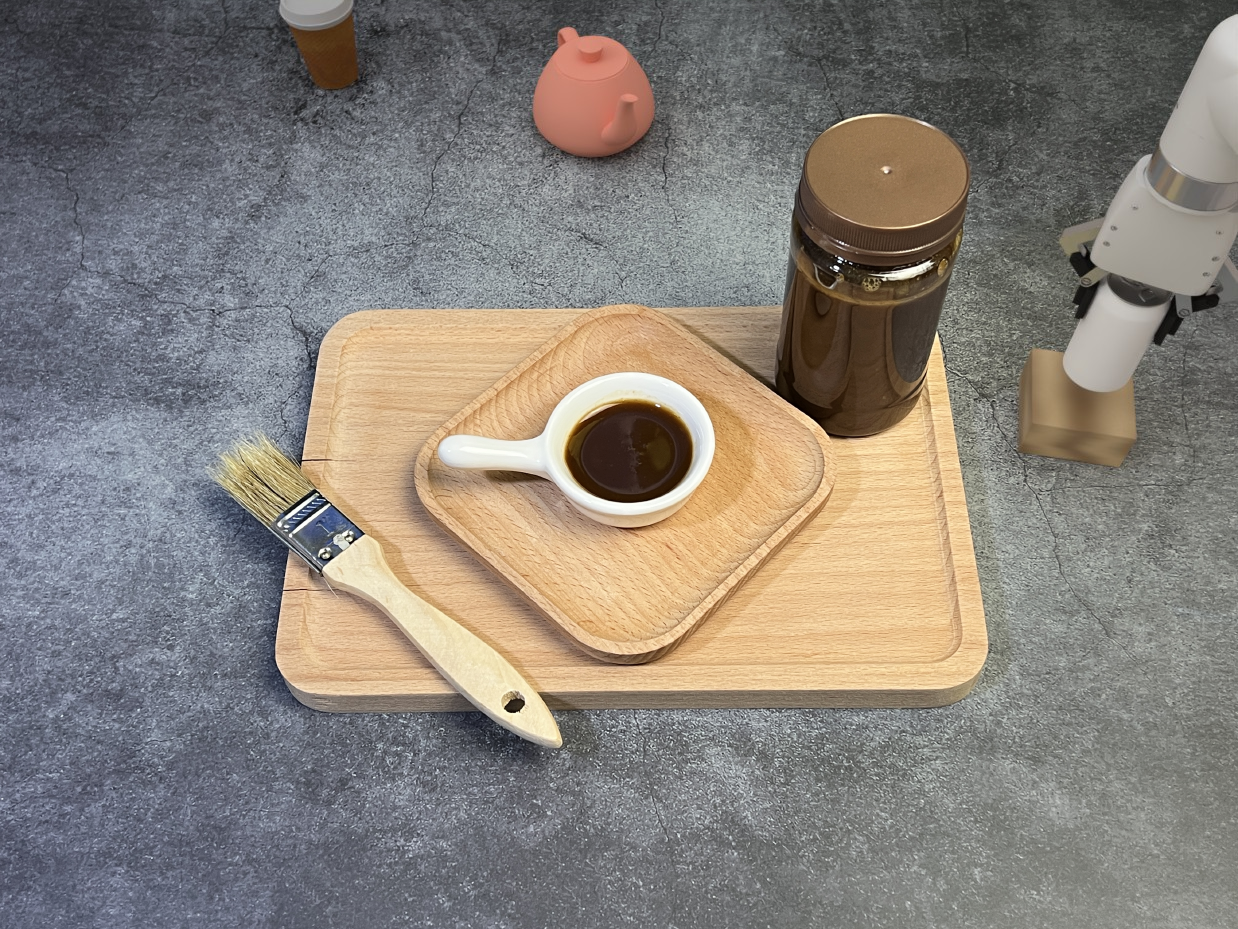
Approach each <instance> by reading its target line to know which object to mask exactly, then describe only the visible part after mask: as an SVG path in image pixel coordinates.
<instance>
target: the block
mask: <svg viewBox="0 0 1238 929" xmlns="http://www.w3.org/2000/svg"><path fill="white" fill-rule="evenodd" d="M1064 354H1065V352H1063V351H1058V350H1050V349H1043V348H1034V347H1032V348H1031V350H1030V352H1029V354H1028V357H1027V359H1026V361H1025V363H1024V366H1023V368H1022V370H1021V373H1020V375H1019V377H1018V433H1017V434H1018V435H1017V436H1018V439H1017V446H1018V448H1017V450H1018V451H1017V452H1018V453H1022V454H1029V455H1034V456H1035V455H1036V456H1041V457H1049V458H1055V459H1062V460H1067V461H1073V462H1080V463H1087V464H1094V465H1100V466H1106V467H1113V468H1120V467H1121V465H1122V463H1123V462H1124V461H1125V459H1126V457H1127V456H1128V454H1129V452H1130V451H1131V449H1132V448H1133V446H1134V445H1135V443H1136V441H1137V440H1138V434H1137V420H1136V404H1135V388H1134V386H1135V385H1134V373H1133V374H1132V376H1131V378H1130V379H1129V381H1128V382H1127V384H1126V385H1125V386H1123V387H1122V388H1120V389H1118V390H1116V391H1112V392H1104V393H1100V392H1093V391H1089V390H1086V389H1084V388H1082V387H1080V386H1078V385H1077V384H1075V383H1074V382H1073V381H1072V380H1071V379H1070V378H1069V376H1068V375H1067V373H1066V372H1065V370H1064V367H1063V357H1064Z"/></svg>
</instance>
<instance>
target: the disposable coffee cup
mask: <svg viewBox="0 0 1238 929" xmlns="http://www.w3.org/2000/svg"><path fill="white" fill-rule="evenodd" d="M354 2H355V0H280V3H279V7H278V9H279V10H278V11H279V14H280V16H281V18H282V19H283V20H284V21H285V23H287V25H288V27H289V30H290V32H291V34H292V36H293V39H294V41H295V43H296V45H297V48H298V50H299V52H300V54H301V56H302V59H303V61H304V63H305V65H306V68H307V70H308V72H309V74H310V76H311V79H312V81H313V83H314V84H315V85H316V86H317V87H319V88H321V89H323V90H324V89H325V90H339V89H340V90H341V89H343V88H346V87H348V86H350V85H351V84H353V83H354V82H355V81H356V80H357V79H358V77H359V74H360V73H359V72H360V71H359V62H358V55H357V45H356V36H355V34H356V33H355V27H354V18H353V6H354Z"/></svg>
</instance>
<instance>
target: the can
mask: <svg viewBox="0 0 1238 929" xmlns="http://www.w3.org/2000/svg"><path fill="white" fill-rule="evenodd" d="M1172 296H1173V292H1171V291H1168V290H1165V289H1161V288H1158V287H1155V286H1151V285H1148V284H1145V283H1142V282H1139V281H1135V280H1132V279H1129V278H1126V277H1123V276H1120V275H1117V274H1114V273H1111V272H1110V273H1109V274H1108V275H1106V276H1105V277H1103V278H1102V279H1100V281H1099V284H1098V287H1097V289H1096V292H1095V294H1094V296H1093V298H1092V300H1091V302H1090V305H1089V307H1088V309H1087V311H1086V313H1085V315H1084V317H1083V319H1081V318H1080V320H1079V322H1078V324H1077V326H1076V328H1075V330H1074V332H1073V334H1072V337H1071V339H1070V340H1069V343H1068V345H1067V347H1066V348H1065V354H1064V357H1063V367H1064V370H1065V372H1066V373H1067V375H1068V376H1069V378H1070V379H1071V380H1072V381H1073V382H1074V383H1075V384H1077V385H1078V386H1080V387H1082V388H1084V389H1086V390H1089V391H1093V392H1100V393H1104V392H1112V391H1116V390H1118V389H1120V388H1122V387H1123V386H1125V385H1126V384H1127V382H1128V381H1129V379H1130V378H1131V376H1132V374H1133V375H1134V373H1135V371H1136V369H1137V368H1138V366H1139V363H1141V361H1142V359H1143V357H1144V355H1145V353H1146V352H1147V350H1148V348H1149V347H1150V345H1151V343H1152V342H1153V339H1154V336H1155V334H1156V332H1157V331H1158V329H1159V327H1160V325H1161V323H1162V322H1163V320H1164V318H1165V316H1166V314H1167V312H1168V310H1169V308H1170V303H1171V300H1172V298H1171V297H1172Z"/></svg>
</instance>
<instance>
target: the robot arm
mask: <svg viewBox="0 0 1238 929" xmlns="http://www.w3.org/2000/svg"><path fill="white" fill-rule="evenodd" d="M1237 235H1238V13H1236V14H1233V15H1232V16H1228V17H1227V18H1226V19H1224V20H1222V21H1221V22H1220V23H1218V24H1217V25H1216V27H1214V29H1213V30H1212V31H1211V32H1210V34H1209V36H1208V37H1207V39H1206V41H1205V43H1204V45H1203V46H1202V49H1201V51H1200V52H1199V55H1198V57H1197V60H1196V61H1195V64H1194V66H1193V68H1192V69H1191V72H1190V75H1189V77H1188V79H1187V81H1186V83H1185V85H1184V87H1183V89H1182V91H1181V93H1180V95H1179V97H1178V100H1177V101H1176V104H1175V106H1174V108H1173V109H1172V113H1171V114H1170V117H1169V118H1168V120H1167V123H1166V126H1165V128H1164V130H1163V131H1162V134H1161V135H1160V138H1159V139H1158V142H1157V144H1156V145H1155V147H1154V150H1153V152H1152V153H1149V154H1146V155H1144V156H1142V157H1141V158H1140V159H1139V160H1138V161H1137V162H1136V163H1135V165H1134V166H1133V168H1132V169H1131V170H1130V172H1129V173H1128V174H1127V176H1126V177H1125V179H1124V180H1123V182H1122V183H1121V185H1120V187H1119V188H1118V190H1117V192H1116V194H1115V195H1114V197H1113V199H1112V201H1111V203H1110V204H1109V207H1108V209H1107V211H1106V213H1105V214H1104V216H1103V217H1100V218H1097V219H1092V220H1089V221H1087V222H1083V223H1079V224H1076V225H1073V226H1070V227H1066V228H1064V229H1062V231H1061V233H1060V236H1059V239H1058V242H1059V245H1060V246H1061V248H1062V249H1063V251H1064V253H1065V254H1066V255H1067V256H1068V258H1069V264H1070V265H1071V266H1072V268H1073V269H1074V271H1075V272H1076V274H1077V276H1078V277H1079V280H1078V282H1079V284H1078V287H1077V289H1076V292H1075V294H1074V297H1073V299H1072V302H1071V304H1073V305H1076V306H1078V307H1077V309H1076V311H1075V313H1074V314H1075V315H1074V319H1076V320H1079V321H1080V320H1081V319H1083V317H1084V315H1085V313H1086V311H1087V309H1088V307H1089V305H1090V302H1091V300H1092V298H1093V296H1094V294H1095V292H1096V289H1097V287H1098V284H1099V281H1100V280H1101V279H1102V278H1103V277H1105V276H1106V275H1108V274H1109V273H1110V272H1111V273H1114V274H1117V275H1120V276H1123V277H1126V278H1129V279H1132V280H1135V281H1139V282H1142V283H1145V284H1148V285H1151V286H1155V287H1158V288H1161V289H1165V290H1168V291H1171V292H1172V293H1174V295H1172V298H1171V303H1170V308H1169V310H1168V312H1167V314H1166V316H1165V318H1164V320H1163V322H1162V323H1161V325H1160V327H1159V329H1158V331H1157V332H1156V334H1155V336H1154V338H1153V339H1152V343H1153V344H1154V345H1157V346H1159V347H1161V346H1162V344H1163V342H1165V341H1164V340H1165V338H1166V337H1167V335H1170V336H1172V337H1174V336H1175V335H1176V334H1177V332H1178V330H1179V328H1180V326H1181V325H1182V323H1183V322H1184V320H1185V319H1189V318H1190V317H1192V315H1193V313H1197V312H1202V311H1206V310H1210V309H1214V308H1216V307H1218V305H1219V304H1226V303H1230V302H1234V301H1237V300H1238V269H1237V266H1236V265H1235V264H1234V262H1233V261H1232V260H1231V258H1230V256H1229V253H1230V251H1231V249H1232V247H1233V245H1234V243H1235V241H1236V238H1237ZM1091 241H1094V242H1093V245H1092V249H1091V251H1090V250H1089V248H1088V247H1087V246H1086V245H1085V244H1084V243H1087V242H1091ZM1216 279H1217V280H1218V283H1219V284H1218V285H1217V284H1213V283H1214V281H1216Z"/></svg>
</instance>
